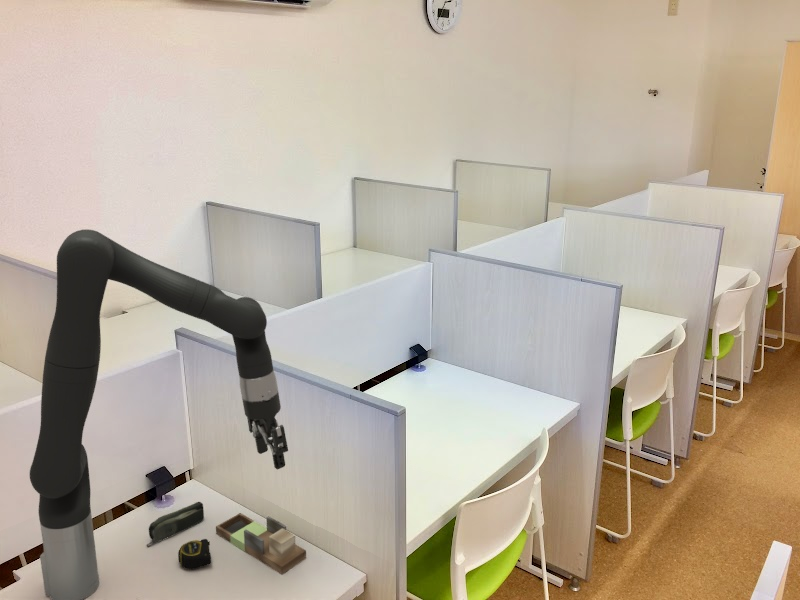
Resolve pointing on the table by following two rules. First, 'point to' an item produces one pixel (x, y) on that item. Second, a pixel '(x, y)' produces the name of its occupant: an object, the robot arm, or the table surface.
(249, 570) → the table surface
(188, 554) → the tape measure
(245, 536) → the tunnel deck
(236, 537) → the pad
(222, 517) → the table surface
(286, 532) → the block
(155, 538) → the green pencil case
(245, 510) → the table surface
